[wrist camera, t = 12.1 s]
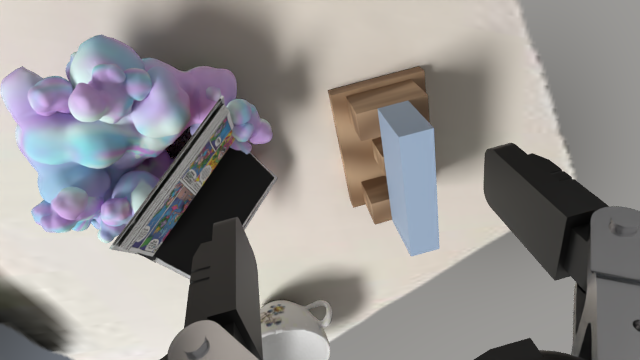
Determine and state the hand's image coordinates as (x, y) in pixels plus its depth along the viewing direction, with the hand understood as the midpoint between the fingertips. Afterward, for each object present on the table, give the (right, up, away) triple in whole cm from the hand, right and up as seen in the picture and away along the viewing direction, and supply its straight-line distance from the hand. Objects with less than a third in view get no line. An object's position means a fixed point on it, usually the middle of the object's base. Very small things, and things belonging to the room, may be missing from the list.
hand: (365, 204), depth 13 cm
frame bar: (+7, +2, +29) cm, 30 cm away
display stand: (+6, +5, +34) cm, 35 cm away
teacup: (-7, -18, +47) cm, 51 cm away
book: (-17, +6, +29) cm, 34 cm away
